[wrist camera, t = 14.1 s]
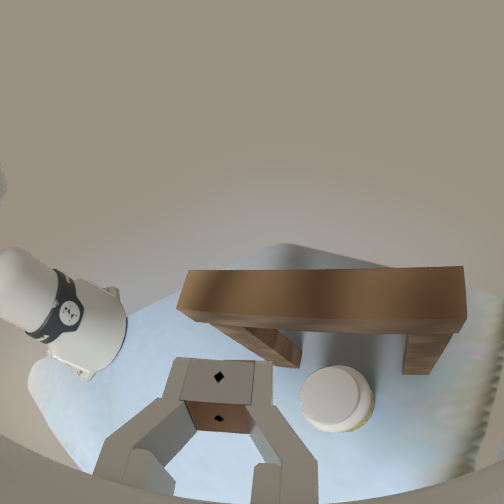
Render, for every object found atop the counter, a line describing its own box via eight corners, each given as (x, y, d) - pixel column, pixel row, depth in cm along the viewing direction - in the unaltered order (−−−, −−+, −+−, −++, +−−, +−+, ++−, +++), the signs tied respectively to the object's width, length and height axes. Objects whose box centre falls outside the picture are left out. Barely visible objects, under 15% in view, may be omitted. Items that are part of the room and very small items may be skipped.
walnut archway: (274, 369, 36) (175, 308, 21) (279, 346, 37) (188, 270, 22) (428, 378, 27) (467, 318, 13) (429, 352, 29) (463, 266, 14)
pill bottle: (315, 386, 33) (284, 367, 24) (368, 371, 31) (358, 346, 23) (324, 437, 29) (295, 440, 21) (379, 423, 27) (375, 421, 19)
